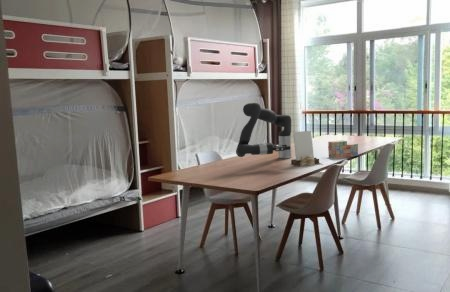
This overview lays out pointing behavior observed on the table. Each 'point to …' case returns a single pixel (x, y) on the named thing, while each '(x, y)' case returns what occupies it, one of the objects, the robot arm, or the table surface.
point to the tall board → (303, 144)
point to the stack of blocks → (342, 149)
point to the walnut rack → (297, 162)
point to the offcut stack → (307, 161)
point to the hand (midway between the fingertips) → (288, 147)
